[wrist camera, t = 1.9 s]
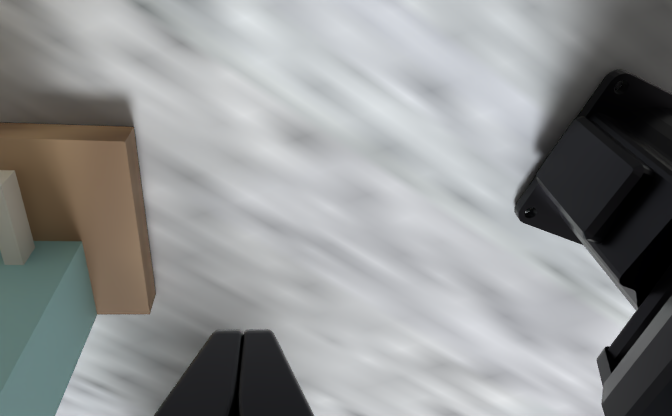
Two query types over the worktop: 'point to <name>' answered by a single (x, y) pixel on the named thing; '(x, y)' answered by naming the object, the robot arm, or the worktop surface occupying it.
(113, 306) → the board
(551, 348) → the worktop surface
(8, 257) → the block
